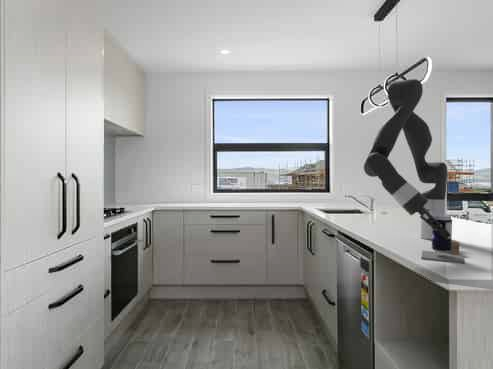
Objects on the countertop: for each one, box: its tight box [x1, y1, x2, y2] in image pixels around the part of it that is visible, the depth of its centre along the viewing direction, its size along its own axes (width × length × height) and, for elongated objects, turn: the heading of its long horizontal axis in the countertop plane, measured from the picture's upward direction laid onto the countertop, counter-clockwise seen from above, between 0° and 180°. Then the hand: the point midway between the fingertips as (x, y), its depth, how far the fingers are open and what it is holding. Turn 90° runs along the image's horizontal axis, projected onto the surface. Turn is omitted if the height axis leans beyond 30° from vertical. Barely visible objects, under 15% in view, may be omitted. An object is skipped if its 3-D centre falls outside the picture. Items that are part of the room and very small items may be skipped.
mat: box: [420, 250, 465, 264], centre depth 118 cm, size 12×12×1 cm
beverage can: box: [431, 214, 453, 253], centre depth 118 cm, size 6×6×12 cm
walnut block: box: [448, 239, 460, 254], centre depth 125 cm, size 4×4×4 cm
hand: (448, 235), depth 117 cm, fingers closed on beverage can, 5 cm apart
